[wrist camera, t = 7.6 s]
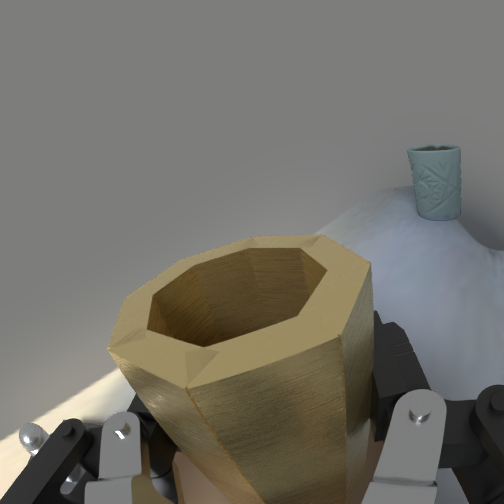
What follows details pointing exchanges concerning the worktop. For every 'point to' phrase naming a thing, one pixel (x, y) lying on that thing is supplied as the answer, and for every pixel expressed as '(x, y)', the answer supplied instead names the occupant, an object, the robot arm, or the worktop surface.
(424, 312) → the worktop surface
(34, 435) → the disc
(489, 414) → the robot arm
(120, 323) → the brass sleeve
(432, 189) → the pale green pot
